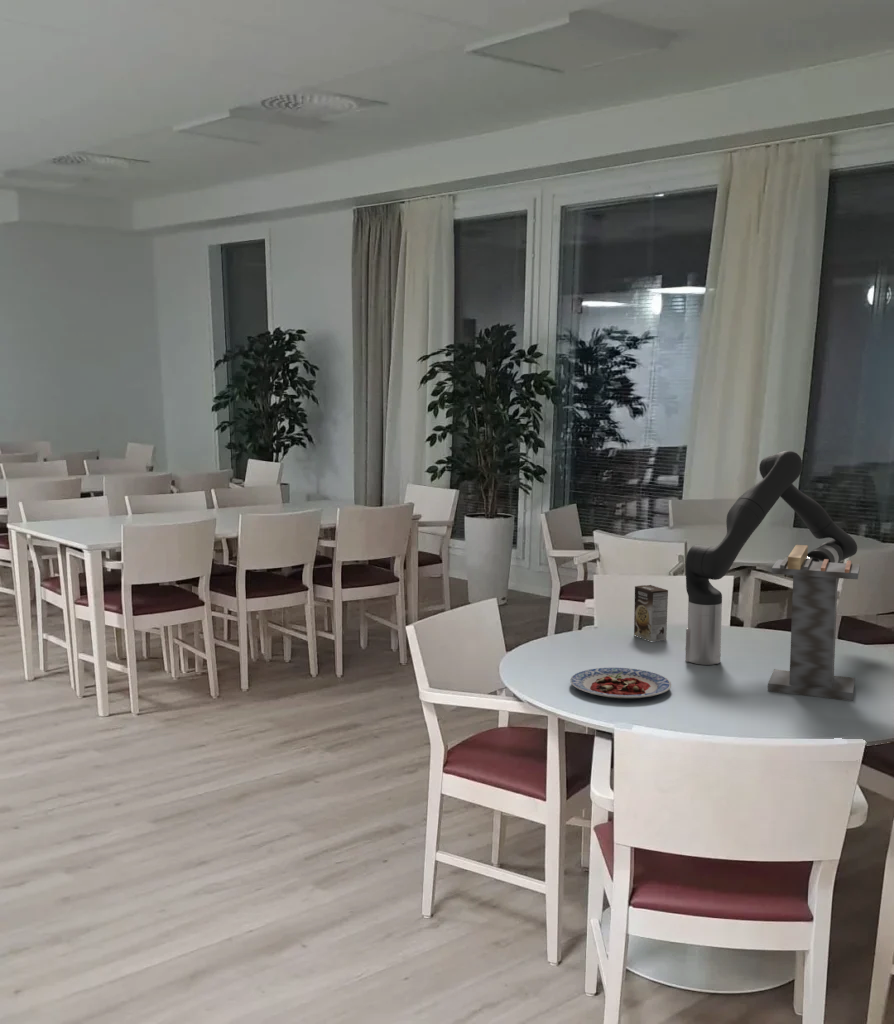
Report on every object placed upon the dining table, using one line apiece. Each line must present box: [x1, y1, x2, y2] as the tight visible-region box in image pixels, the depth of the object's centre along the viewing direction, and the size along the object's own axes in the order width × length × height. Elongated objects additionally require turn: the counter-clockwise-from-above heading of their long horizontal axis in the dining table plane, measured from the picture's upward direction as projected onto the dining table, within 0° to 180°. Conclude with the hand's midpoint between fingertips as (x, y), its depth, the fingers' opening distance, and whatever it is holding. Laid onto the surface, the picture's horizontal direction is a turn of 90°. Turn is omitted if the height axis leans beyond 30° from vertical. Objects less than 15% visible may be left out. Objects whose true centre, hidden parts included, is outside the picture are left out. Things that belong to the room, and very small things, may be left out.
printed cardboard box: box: [633, 584, 669, 642], centre depth 297 cm, size 9×6×16 cm
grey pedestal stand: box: [767, 556, 861, 702], centre depth 244 cm, size 20×14×33 cm
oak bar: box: [787, 544, 809, 570], centre depth 248 cm, size 3×22×3 cm, turn 155°
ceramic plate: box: [569, 667, 672, 700], centre depth 247 cm, size 26×26×3 cm
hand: (804, 571), depth 265 cm, fingers open, 8 cm apart
